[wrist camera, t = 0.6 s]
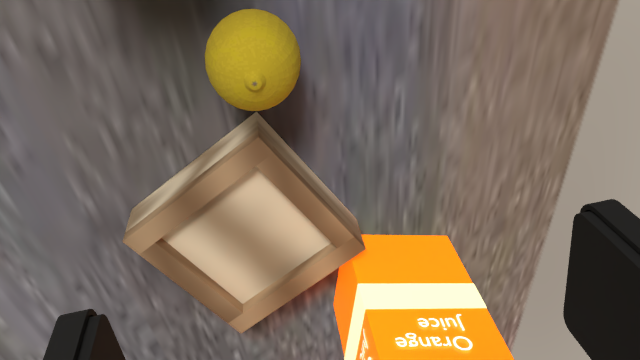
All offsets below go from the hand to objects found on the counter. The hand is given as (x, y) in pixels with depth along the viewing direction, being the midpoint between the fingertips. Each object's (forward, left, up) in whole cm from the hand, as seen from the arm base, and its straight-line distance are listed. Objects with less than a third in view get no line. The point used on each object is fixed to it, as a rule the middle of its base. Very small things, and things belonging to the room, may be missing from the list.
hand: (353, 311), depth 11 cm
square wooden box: (+12, +11, -28) cm, 32 cm away
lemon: (+3, +1, -28) cm, 28 cm away
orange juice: (+7, +24, -28) cm, 38 cm away
